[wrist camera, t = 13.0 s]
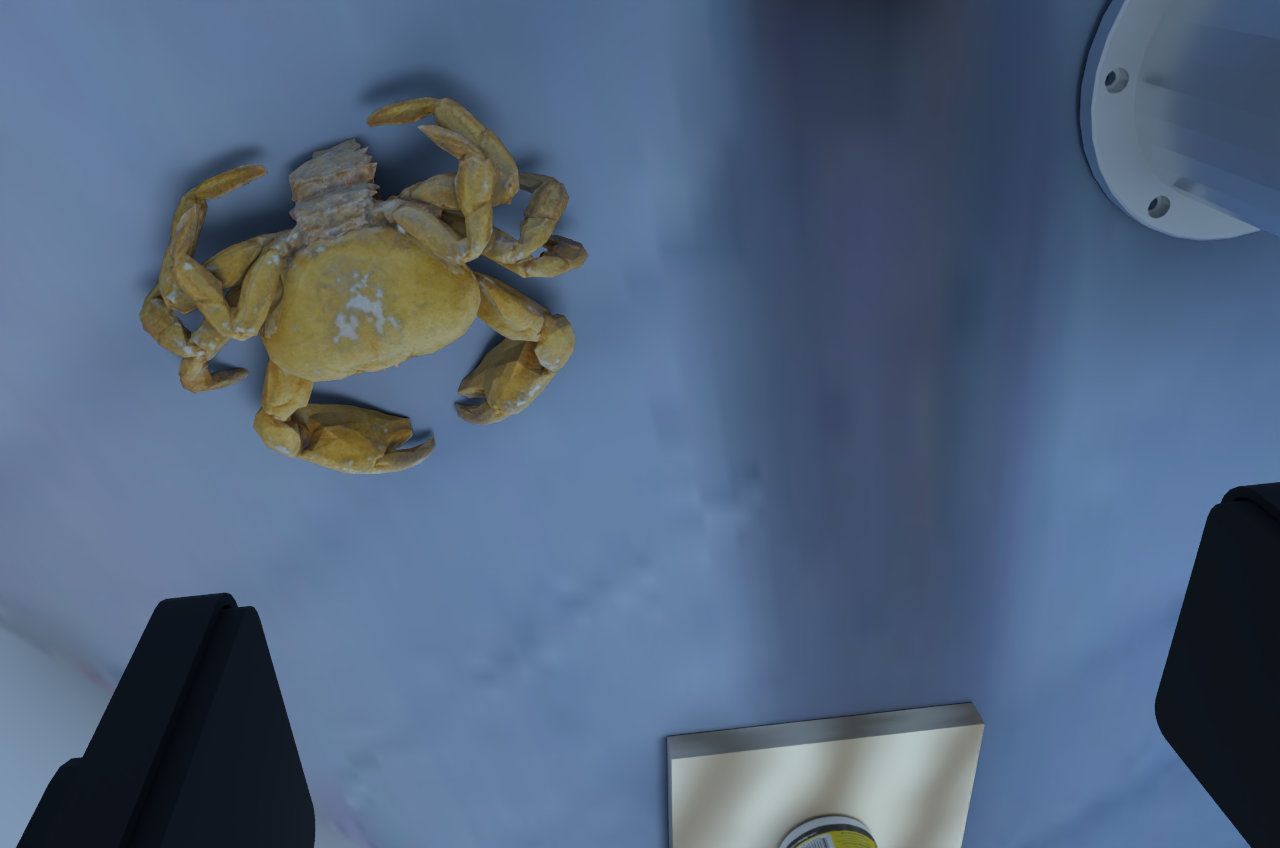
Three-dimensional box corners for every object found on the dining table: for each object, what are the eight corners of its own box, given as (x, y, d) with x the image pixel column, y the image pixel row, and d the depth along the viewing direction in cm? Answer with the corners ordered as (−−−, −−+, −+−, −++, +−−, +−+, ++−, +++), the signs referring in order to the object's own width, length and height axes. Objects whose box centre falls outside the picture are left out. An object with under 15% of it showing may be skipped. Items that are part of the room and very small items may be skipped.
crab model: (296, 493, 41) (267, 574, 36) (104, 217, 34) (39, 270, 30) (641, 355, 40) (660, 420, 35) (508, 42, 33) (508, 69, 28)
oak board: (972, 702, 51) (984, 723, 50) (935, 902, 58) (946, 925, 57) (667, 736, 49) (671, 759, 48) (670, 937, 57) (674, 961, 56)
